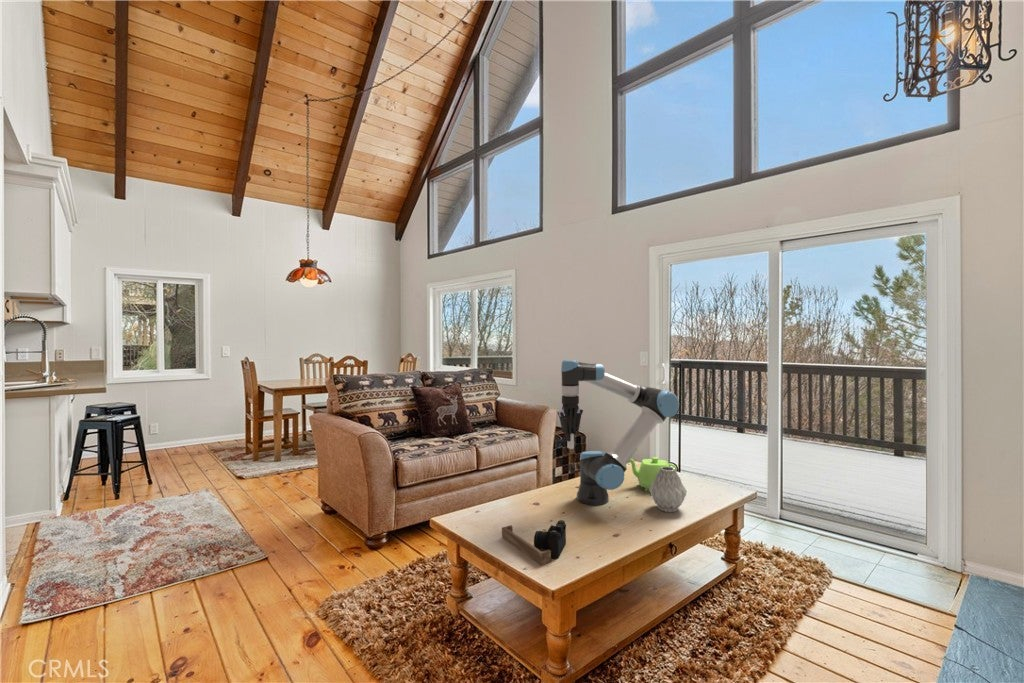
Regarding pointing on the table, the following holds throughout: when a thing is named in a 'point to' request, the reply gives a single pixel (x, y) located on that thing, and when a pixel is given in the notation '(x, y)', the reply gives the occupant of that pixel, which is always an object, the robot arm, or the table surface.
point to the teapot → (649, 470)
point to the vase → (667, 490)
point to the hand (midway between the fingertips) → (570, 448)
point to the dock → (526, 546)
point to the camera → (552, 539)
